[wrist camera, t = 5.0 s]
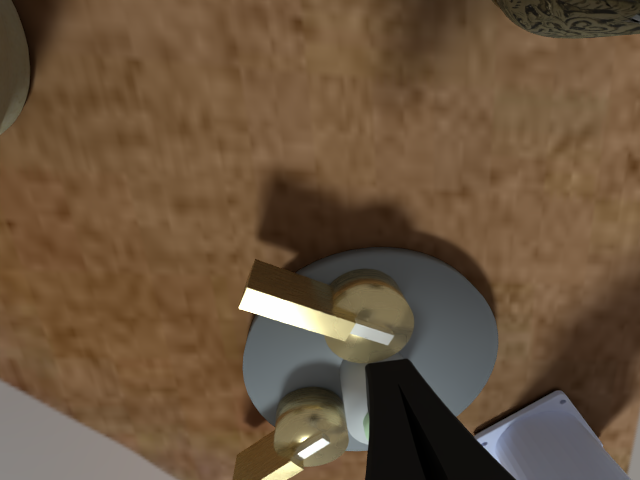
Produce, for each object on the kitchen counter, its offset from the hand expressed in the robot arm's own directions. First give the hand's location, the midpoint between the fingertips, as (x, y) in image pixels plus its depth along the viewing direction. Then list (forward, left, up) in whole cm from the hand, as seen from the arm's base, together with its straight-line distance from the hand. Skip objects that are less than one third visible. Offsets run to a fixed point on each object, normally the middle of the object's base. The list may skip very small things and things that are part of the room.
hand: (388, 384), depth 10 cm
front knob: (-1, +2, -8) cm, 8 cm away
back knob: (-7, +12, -8) cm, 16 cm away
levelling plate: (-7, +4, -9) cm, 13 cm away
